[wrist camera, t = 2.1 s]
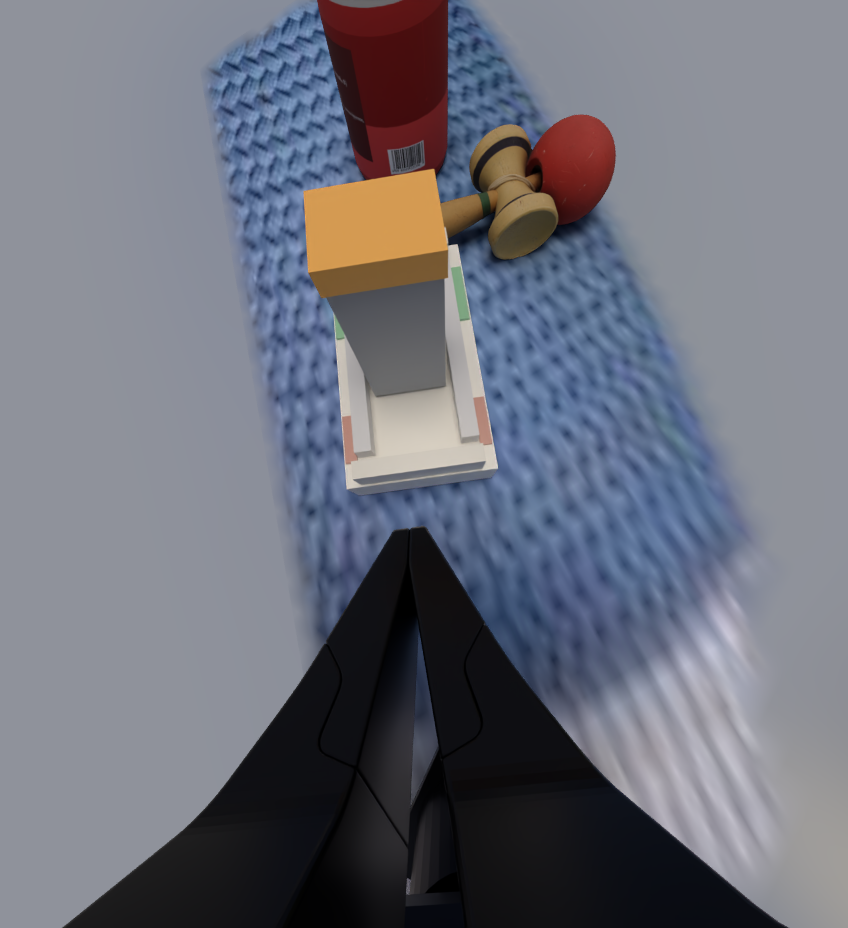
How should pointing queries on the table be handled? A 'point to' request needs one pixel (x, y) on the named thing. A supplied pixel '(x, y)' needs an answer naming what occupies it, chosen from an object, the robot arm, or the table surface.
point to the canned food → (391, 80)
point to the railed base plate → (419, 413)
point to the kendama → (534, 183)
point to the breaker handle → (384, 274)
